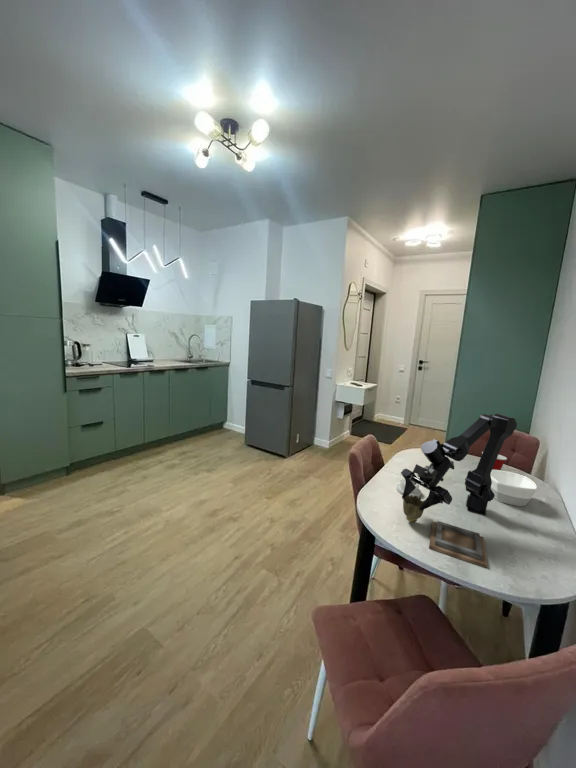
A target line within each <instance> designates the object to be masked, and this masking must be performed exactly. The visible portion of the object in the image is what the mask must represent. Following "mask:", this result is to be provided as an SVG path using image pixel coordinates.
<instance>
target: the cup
mask: <svg viewBox="0 0 576 768" xmlns="http://www.w3.org/2000/svg"><path fill="white" fill-rule="evenodd" d="M402 500H403V501H402V503H403V504H402V505H403V506H402V507H403V508H402V510H403V513H404V515H405V518H406V520H407V521H408V522H409V523H413V524H415V523H417V521H418V520H419V519H420V518H421V517H422V516H423V514H424V511H425V509H424V510H422V511H421V510H420V509H419V508H420V507H421V505H422V504H423V502H424V501H425V500H426V499H423V500H422V497H421V496H419V497H417V496H414V497H412V495H411V496H410V497H409V495H407V496H405V497H404V498H403V499H402Z"/></svg>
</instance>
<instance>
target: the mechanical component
mask: <svg viewBox="0 0 576 768" xmlns="http://www.w3.org/2000/svg"><path fill="white" fill-rule="evenodd" d="M405 484H406V481H405V479H404V478H403V479H401V480H400V483H399V484H397V485H396V491H397V492H398V493H399V494H401V495H403V492H404V489H405ZM414 486H415V487H416V488H415V489H414V490H413V491H412V492H411V493H410V494H409V497H410V496H411V495H412V497H414V496H417V497H418V498H419V497H421V495H422V490H421V489H420V485H419V484H417V483H416V484H414Z"/></svg>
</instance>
